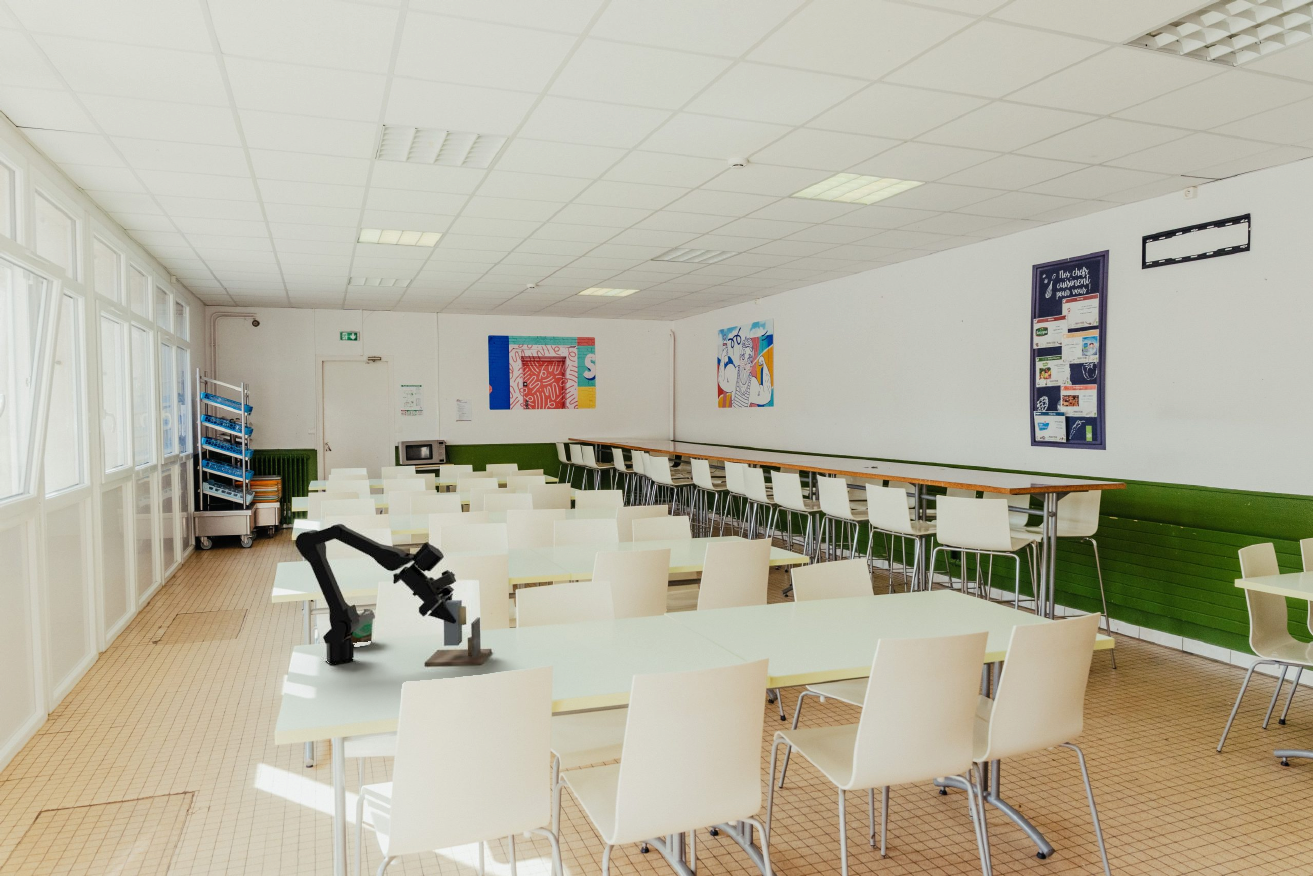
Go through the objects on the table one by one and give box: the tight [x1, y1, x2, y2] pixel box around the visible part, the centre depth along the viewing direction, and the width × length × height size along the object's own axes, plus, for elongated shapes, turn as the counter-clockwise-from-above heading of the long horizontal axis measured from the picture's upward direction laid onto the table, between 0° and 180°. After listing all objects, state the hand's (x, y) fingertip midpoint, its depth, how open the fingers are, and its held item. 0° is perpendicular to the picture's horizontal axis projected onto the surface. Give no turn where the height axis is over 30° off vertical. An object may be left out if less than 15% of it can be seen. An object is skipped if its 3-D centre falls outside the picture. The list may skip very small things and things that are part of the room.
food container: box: [349, 608, 376, 645], centre depth 256 cm, size 12×6×10 cm, turn 168°
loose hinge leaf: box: [443, 599, 467, 647], centre depth 237 cm, size 6×5×12 cm
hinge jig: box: [424, 617, 492, 667], centre depth 237 cm, size 16×14×11 cm
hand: (457, 620), depth 237 cm, fingers closed on loose hinge leaf, 5 cm apart
